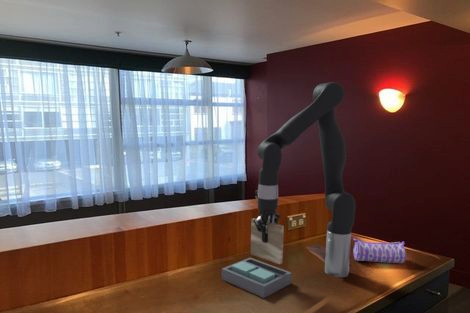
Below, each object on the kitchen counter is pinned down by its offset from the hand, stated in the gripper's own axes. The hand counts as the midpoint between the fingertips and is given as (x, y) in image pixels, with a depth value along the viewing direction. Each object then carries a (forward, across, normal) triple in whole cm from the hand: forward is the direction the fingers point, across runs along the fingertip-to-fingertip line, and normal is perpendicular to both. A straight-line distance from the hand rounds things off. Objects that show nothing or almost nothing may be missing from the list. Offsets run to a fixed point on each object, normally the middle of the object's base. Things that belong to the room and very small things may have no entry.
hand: (266, 241), depth 140 cm
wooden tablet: (+16, +40, -3) cm, 43 cm away
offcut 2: (+14, -8, -4) cm, 16 cm away
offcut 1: (+14, -8, +4) cm, 16 cm away
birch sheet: (+7, 0, 0) cm, 7 cm away
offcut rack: (+15, -6, 0) cm, 16 cm away
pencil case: (+16, +51, -23) cm, 58 cm away
